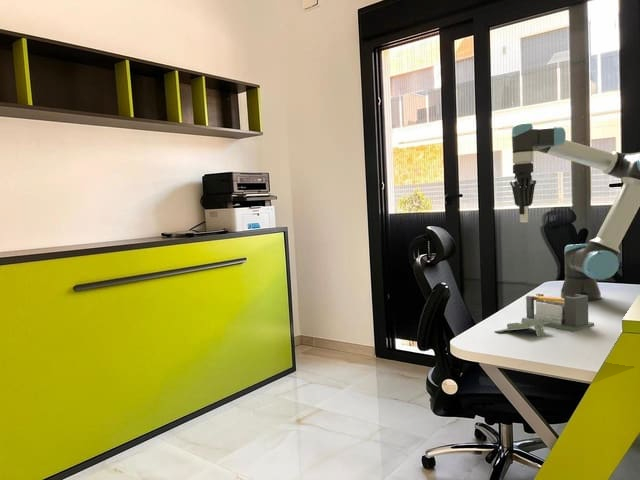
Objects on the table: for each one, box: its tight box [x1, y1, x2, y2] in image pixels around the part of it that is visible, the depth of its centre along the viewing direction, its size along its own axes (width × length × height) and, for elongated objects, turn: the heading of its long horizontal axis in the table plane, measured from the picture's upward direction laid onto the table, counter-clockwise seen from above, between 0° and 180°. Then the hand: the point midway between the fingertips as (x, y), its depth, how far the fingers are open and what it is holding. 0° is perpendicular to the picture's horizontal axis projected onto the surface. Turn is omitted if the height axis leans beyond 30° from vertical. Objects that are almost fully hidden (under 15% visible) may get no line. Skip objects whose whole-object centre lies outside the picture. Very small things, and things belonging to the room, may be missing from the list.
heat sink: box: [525, 293, 565, 325], centre depth 171 cm, size 14×9×8 cm, turn 29°
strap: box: [534, 295, 564, 302], centre depth 169 cm, size 16×3×1 cm, turn 29°
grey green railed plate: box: [521, 314, 595, 332], centre depth 169 cm, size 19×12×1 cm, turn 29°
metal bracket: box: [494, 318, 550, 338], centre depth 161 cm, size 14×6×15 cm
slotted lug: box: [564, 294, 589, 327], centre depth 163 cm, size 4×7×10 cm, turn 119°
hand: (524, 222), depth 193 cm, fingers closed
